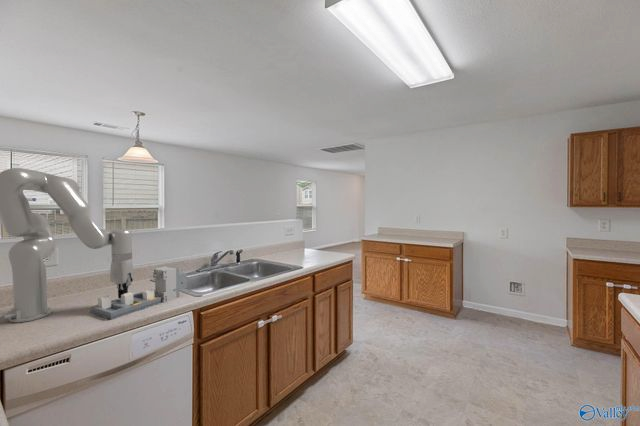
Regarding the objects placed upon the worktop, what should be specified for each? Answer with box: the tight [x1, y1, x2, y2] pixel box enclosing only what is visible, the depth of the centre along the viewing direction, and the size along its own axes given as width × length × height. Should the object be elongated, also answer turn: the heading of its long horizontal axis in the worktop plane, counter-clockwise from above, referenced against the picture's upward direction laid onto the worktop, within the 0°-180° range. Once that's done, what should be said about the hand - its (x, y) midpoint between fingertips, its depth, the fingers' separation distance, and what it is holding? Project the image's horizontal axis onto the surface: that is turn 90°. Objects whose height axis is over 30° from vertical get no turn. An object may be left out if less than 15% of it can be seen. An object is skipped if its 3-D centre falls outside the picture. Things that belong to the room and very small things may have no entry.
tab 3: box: [142, 288, 155, 300], centre depth 129 cm, size 4×3×5 cm
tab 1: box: [97, 295, 112, 309], centre depth 120 cm, size 4×3×5 cm
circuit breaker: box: [152, 265, 188, 303], centre depth 139 cm, size 8×14×15 cm, turn 155°
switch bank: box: [90, 291, 162, 320], centre depth 125 cm, size 21×15×3 cm
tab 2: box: [121, 291, 134, 305], centre depth 125 cm, size 4×3×5 cm
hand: (123, 297), depth 127 cm, fingers closed
